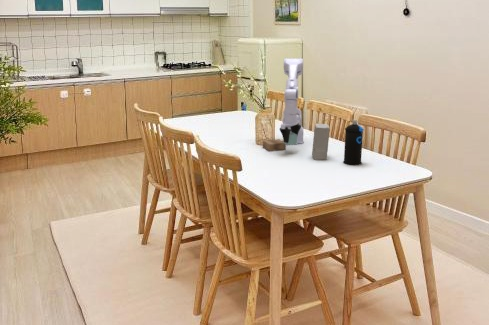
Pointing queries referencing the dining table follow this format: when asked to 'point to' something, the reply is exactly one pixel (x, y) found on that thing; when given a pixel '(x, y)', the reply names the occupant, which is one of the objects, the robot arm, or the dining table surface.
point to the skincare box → (320, 141)
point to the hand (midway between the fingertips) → (290, 141)
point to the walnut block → (274, 145)
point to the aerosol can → (353, 144)
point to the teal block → (292, 139)
